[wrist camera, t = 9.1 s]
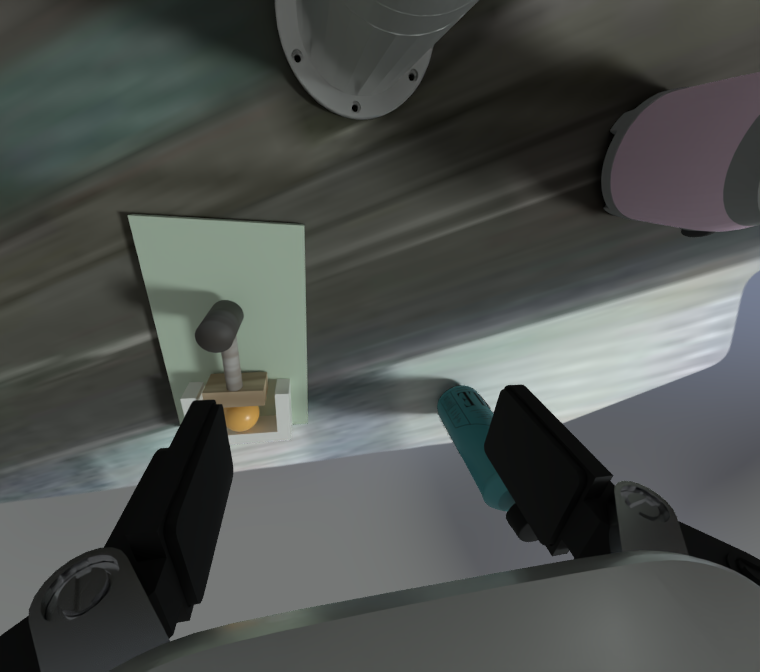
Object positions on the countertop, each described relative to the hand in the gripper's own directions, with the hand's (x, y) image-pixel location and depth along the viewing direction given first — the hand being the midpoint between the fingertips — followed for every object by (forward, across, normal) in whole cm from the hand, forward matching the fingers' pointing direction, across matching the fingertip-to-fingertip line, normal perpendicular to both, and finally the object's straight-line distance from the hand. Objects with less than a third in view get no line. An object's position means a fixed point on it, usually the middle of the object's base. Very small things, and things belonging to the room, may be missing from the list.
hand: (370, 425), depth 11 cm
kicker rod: (+25, +10, +10) cm, 29 cm away
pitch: (+26, +10, +10) cm, 30 cm away
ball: (+23, +10, +19) cm, 31 cm away
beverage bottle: (+26, -18, +20) cm, 38 cm away
